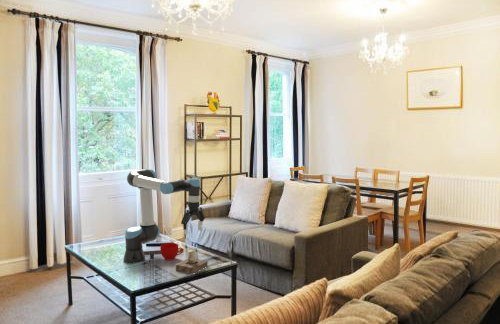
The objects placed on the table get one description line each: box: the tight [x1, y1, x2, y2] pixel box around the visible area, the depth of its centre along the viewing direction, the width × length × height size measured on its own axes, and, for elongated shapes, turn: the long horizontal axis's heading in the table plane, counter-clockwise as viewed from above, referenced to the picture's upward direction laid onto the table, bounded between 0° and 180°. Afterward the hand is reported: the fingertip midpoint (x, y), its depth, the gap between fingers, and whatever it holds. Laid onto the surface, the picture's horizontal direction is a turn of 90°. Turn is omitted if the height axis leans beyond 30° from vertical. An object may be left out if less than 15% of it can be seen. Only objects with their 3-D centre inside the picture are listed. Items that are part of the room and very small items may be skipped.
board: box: [175, 258, 209, 274], centre depth 288 cm, size 15×16×4 cm
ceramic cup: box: [159, 242, 184, 261], centre depth 307 cm, size 13×17×10 cm
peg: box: [187, 249, 197, 265], centre depth 288 cm, size 5×5×12 cm
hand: (192, 232), depth 287 cm, fingers open, 13 cm apart
